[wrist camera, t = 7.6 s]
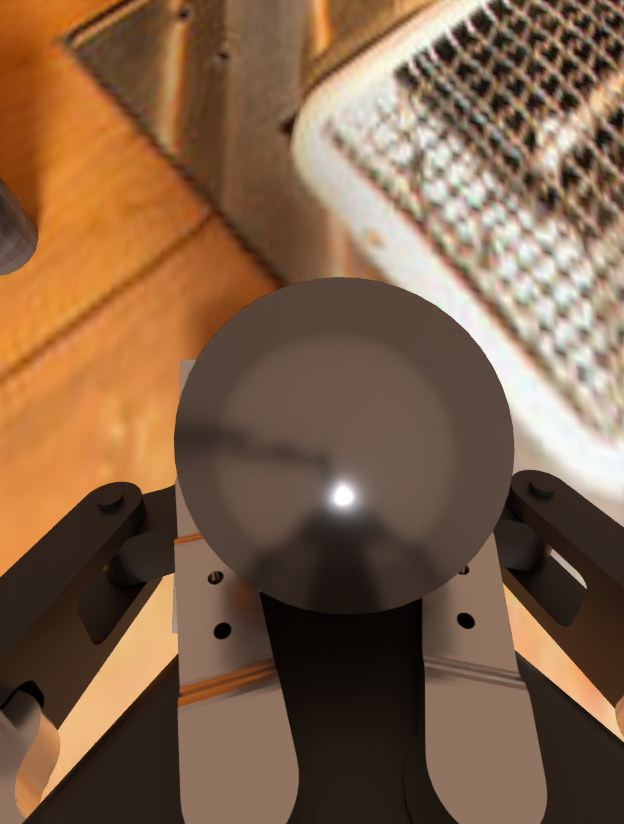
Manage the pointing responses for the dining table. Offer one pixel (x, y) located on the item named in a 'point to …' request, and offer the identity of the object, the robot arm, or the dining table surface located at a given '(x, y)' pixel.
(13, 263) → the beverage cup
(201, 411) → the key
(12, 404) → the dining table surface
